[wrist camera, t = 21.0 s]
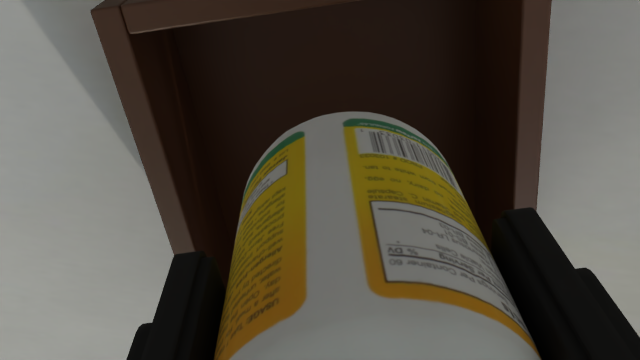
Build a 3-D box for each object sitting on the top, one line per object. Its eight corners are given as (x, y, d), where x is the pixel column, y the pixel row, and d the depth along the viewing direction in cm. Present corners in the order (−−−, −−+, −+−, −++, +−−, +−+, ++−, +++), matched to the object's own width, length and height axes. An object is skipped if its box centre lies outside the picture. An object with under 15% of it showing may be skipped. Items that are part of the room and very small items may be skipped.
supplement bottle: (437, 80, 12) (711, 510, 4) (462, 260, 15) (662, 741, 7) (211, 134, 13) (60, 616, 5) (274, 299, 16) (248, 794, 7)
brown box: (140, -26, 19) (88, 10, 14) (493, -81, 18) (557, -62, 14) (234, 300, 26) (220, 392, 22) (486, 269, 26) (526, 356, 21)
